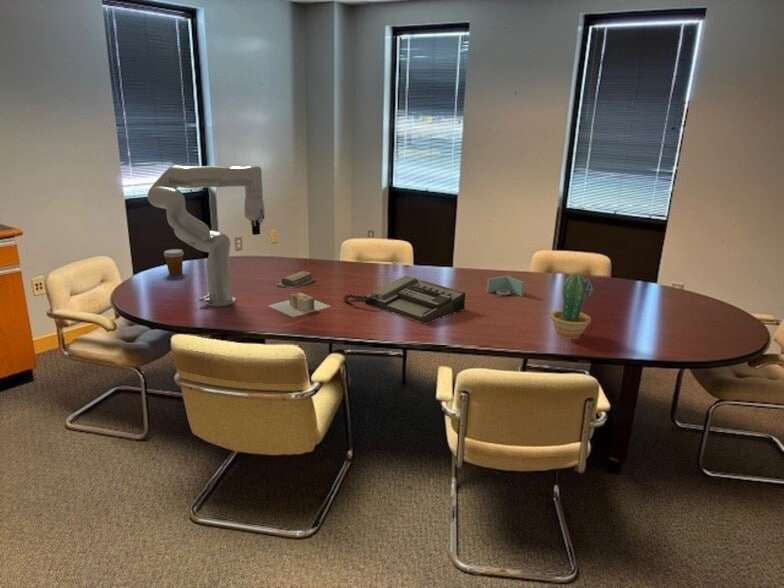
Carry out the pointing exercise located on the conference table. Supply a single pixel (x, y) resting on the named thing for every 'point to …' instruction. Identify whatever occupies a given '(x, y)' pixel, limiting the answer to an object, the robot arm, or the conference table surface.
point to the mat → (294, 311)
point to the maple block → (301, 301)
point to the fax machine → (415, 299)
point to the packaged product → (296, 280)
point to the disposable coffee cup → (174, 261)
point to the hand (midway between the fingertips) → (256, 234)
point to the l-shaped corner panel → (505, 285)
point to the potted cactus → (572, 307)
